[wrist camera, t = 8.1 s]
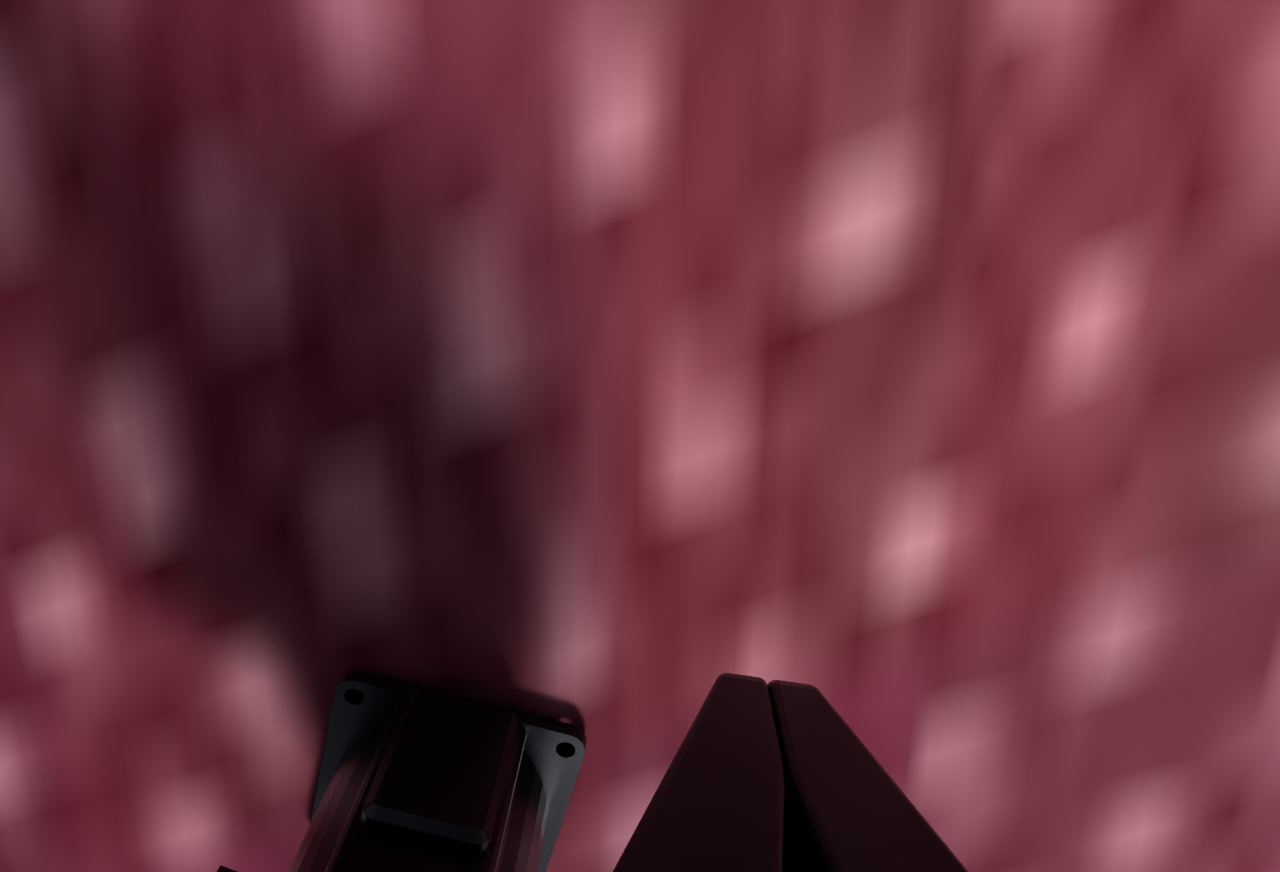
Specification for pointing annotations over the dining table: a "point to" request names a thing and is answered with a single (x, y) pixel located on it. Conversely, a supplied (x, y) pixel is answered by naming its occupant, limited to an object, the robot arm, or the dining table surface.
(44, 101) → the dining table surface
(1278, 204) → the dining table surface
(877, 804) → the robot arm
